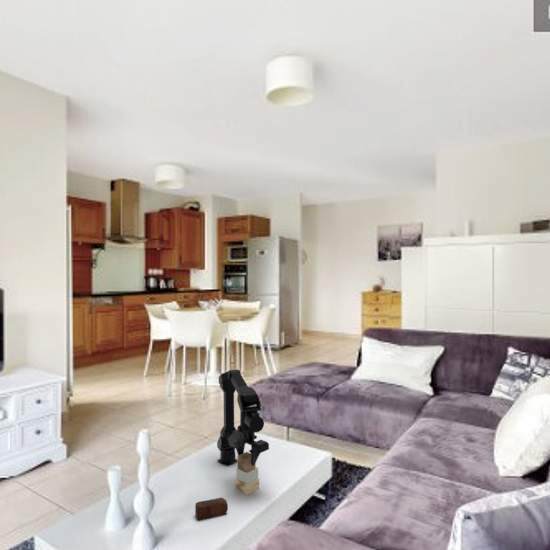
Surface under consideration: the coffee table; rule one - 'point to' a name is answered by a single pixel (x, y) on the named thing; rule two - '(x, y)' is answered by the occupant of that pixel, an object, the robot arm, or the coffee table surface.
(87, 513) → the coffee table surface
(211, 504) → the brick
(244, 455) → the walnut block
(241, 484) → the tower base
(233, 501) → the coffee table surface
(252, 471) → the tower top
